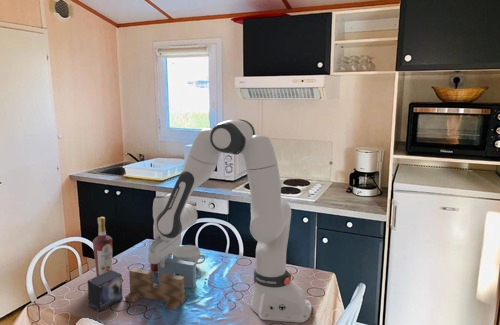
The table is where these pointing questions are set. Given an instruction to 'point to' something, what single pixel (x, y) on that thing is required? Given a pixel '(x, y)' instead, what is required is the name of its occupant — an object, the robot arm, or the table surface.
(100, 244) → the liquor
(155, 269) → the soda can
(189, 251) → the teacup
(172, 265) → the blue-gray flat plate
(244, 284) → the table surface
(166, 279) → the walnut slotted board
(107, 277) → the small box
